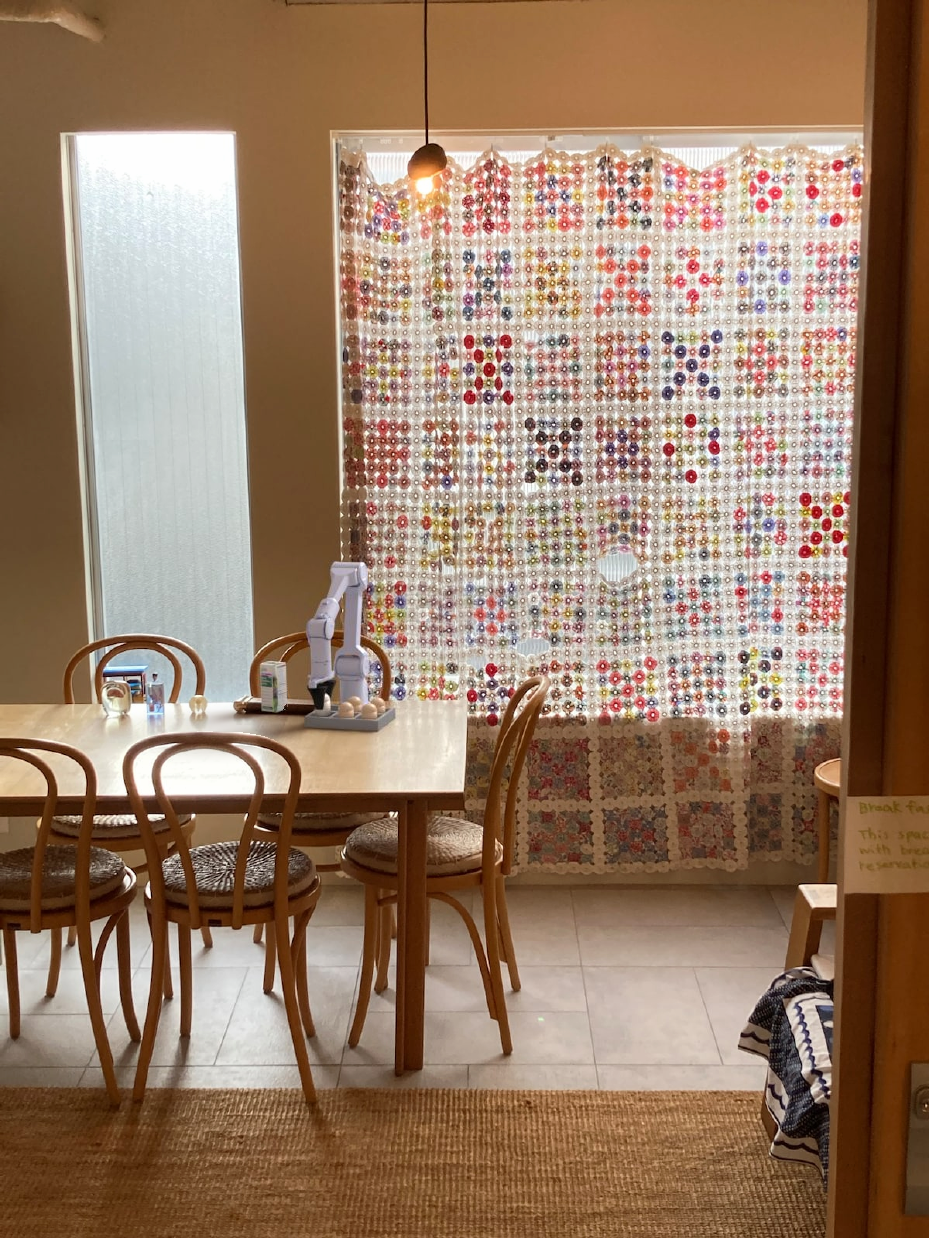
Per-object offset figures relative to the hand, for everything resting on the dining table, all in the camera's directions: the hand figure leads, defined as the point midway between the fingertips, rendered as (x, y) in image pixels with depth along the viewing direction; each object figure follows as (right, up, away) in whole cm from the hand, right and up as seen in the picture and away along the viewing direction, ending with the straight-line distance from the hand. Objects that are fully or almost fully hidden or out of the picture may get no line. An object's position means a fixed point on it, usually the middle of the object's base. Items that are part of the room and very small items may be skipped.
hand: (322, 707), depth 329 cm
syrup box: (-17, -2, +19) cm, 25 cm away
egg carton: (+8, -4, +2) cm, 9 cm away
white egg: (0, -2, 0) cm, 2 cm away
